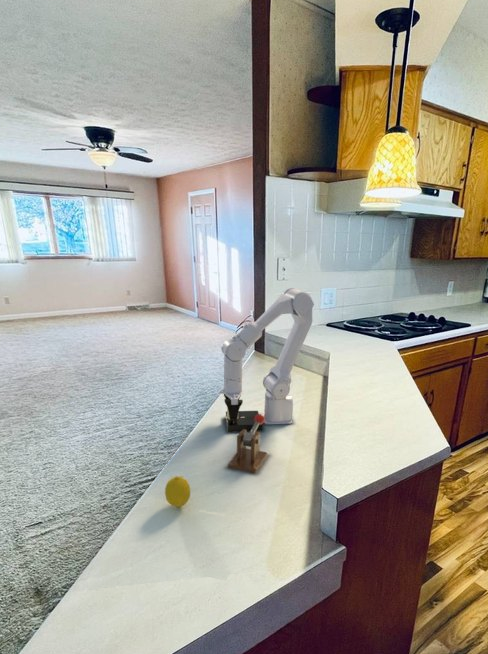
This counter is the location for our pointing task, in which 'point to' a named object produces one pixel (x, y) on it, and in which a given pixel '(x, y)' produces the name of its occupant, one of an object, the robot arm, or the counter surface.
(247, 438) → the lever
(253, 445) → the switch bracket
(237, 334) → the robot arm
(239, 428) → the control panel
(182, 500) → the lemon
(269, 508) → the counter surface
